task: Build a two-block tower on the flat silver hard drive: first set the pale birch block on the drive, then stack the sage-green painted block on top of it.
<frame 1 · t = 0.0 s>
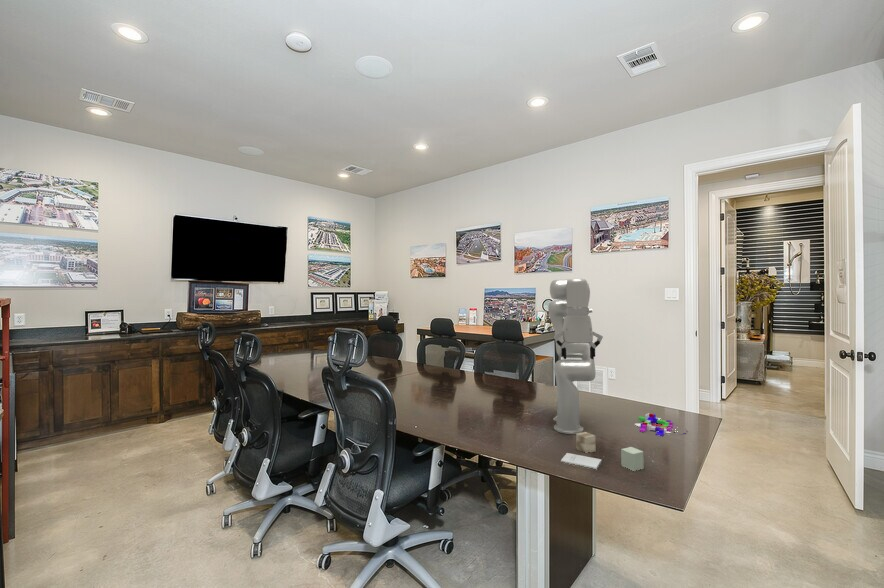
hand: (578, 358, 146), 37 cm above the table, tool pointing down, fingers open, 9 cm apart
sage block: (632, 467, 139), on the table
external hard drive: (581, 464, 144), on the table
building block set: (660, 429, 180), on the table
birch block: (585, 450, 155), on the table
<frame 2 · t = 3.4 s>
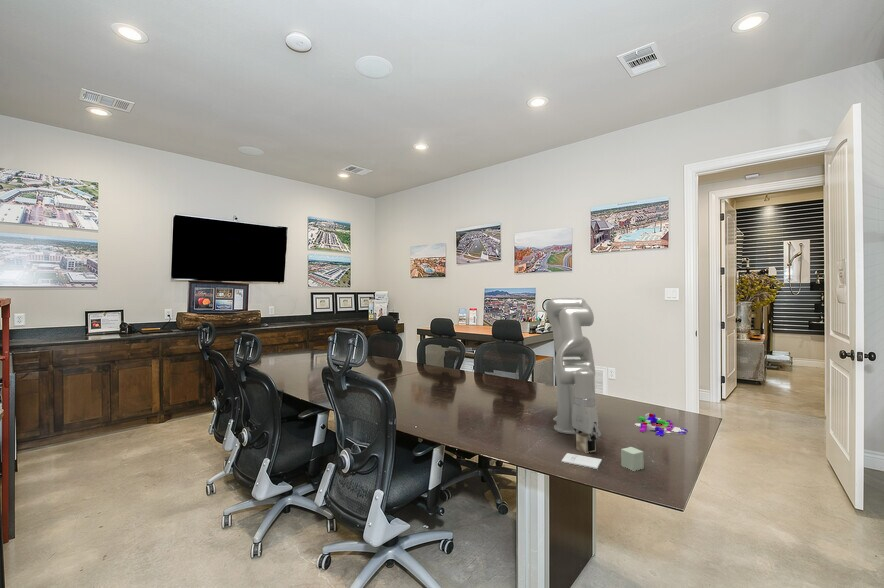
hand: (585, 447, 155), 1 cm above the table, tool pointing down, fingers closed on birch block, 5 cm apart
birch block: (586, 450, 155), on the table, touching gripper
everything else where it was.
when the fingers open (4 cm above the table, at t = 8.4 s): birch block drops 2 cm, resting on external hard drive.
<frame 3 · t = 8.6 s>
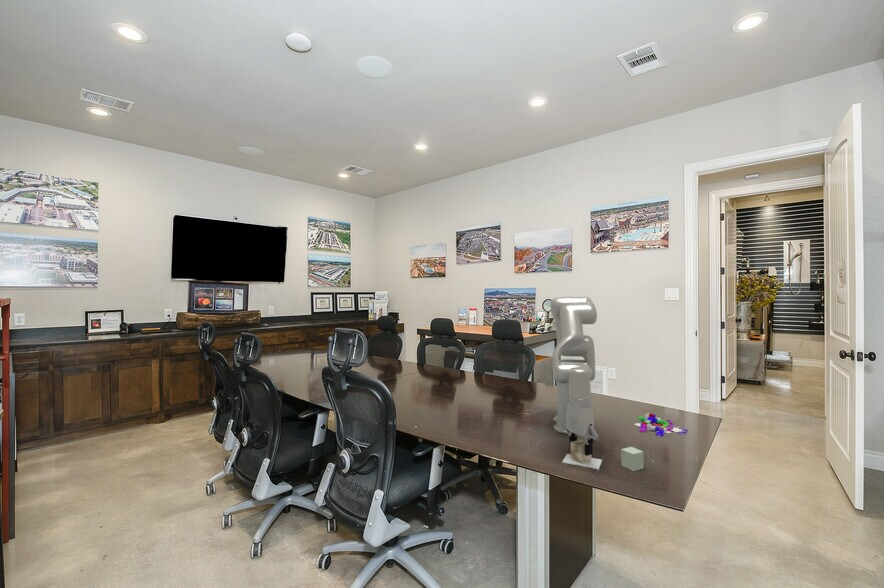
hand: (580, 450, 144), 4 cm above the table, tool pointing down, fingers open, 7 cm apart
external hard drive: (582, 465, 144), on the table, touching birch block
birch block: (581, 459, 144), point 1 cm above the table, touching external hard drive
everything else where it was.
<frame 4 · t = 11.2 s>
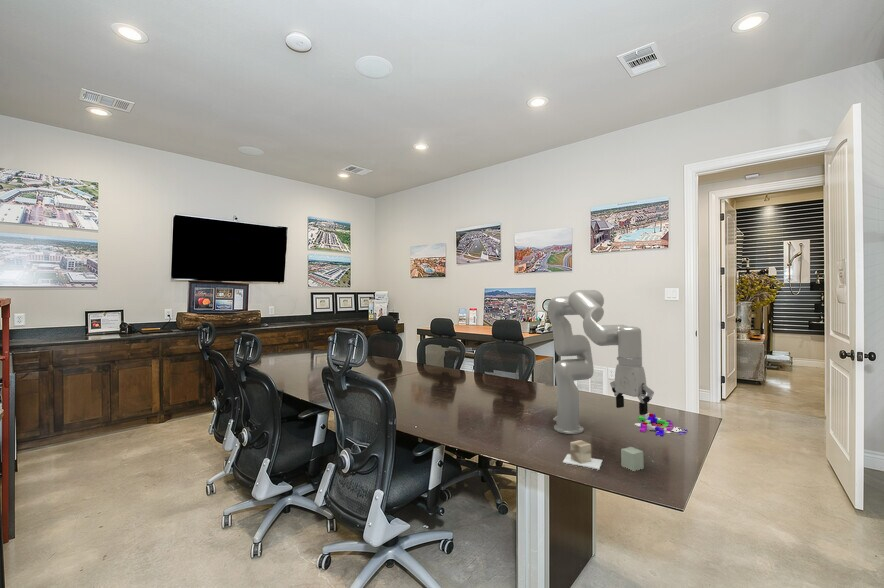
hand: (631, 410, 139), 20 cm above the table, tool pointing down, fingers open, 9 cm apart
nothing on the table moved.
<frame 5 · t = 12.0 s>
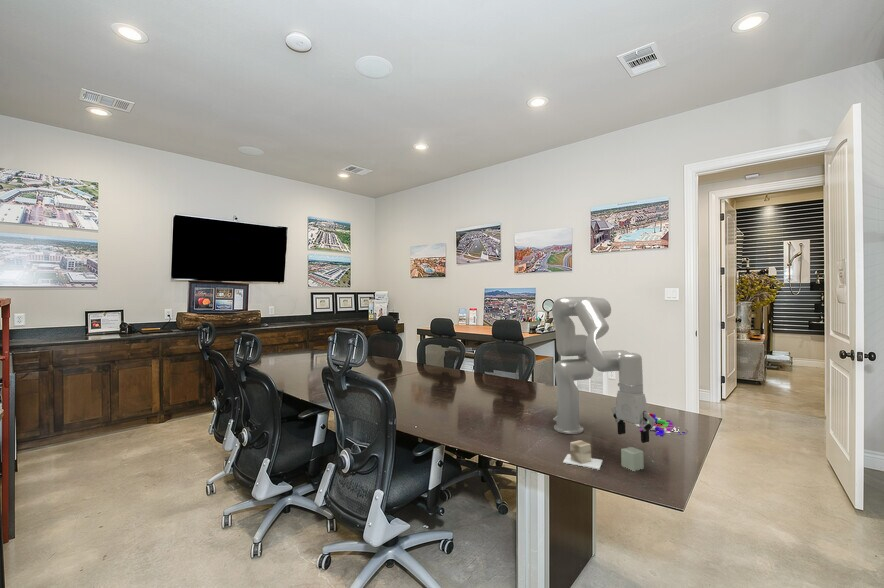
hand: (633, 437, 138), 11 cm above the table, tool pointing down, fingers open, 9 cm apart
nothing on the table moved.
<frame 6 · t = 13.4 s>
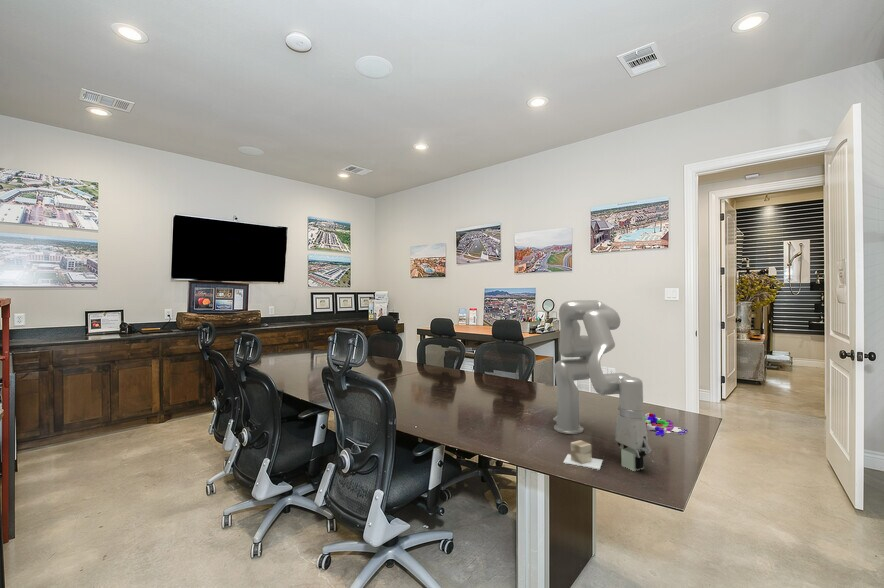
hand: (632, 464, 139), 1 cm above the table, tool pointing down, fingers closed on sage block, 5 cm apart
sage block: (632, 467, 139), on the table, touching gripper
external hard drive: (583, 465, 143), on the table
birch block: (581, 460, 144), point 1 cm above the table
everything else where it was.
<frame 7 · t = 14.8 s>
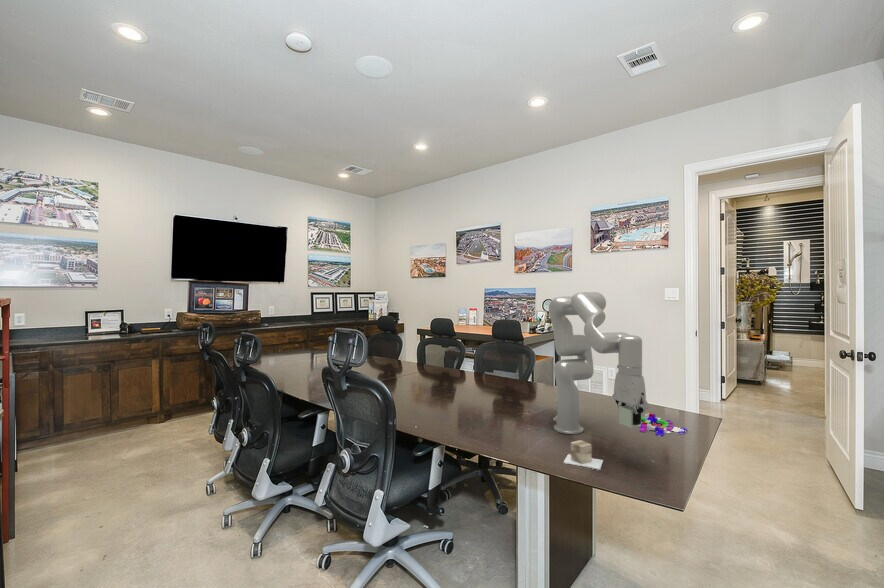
hand: (629, 421, 140), 16 cm above the table, tool pointing down, fingers closed on sage block, 5 cm apart
sage block: (629, 424, 140), point 15 cm above the table, touching gripper
everything else where it was.
when the fingers open (10 cm above the table, at t = 19.2 s): sage block drops 2 cm, resting on birch block.
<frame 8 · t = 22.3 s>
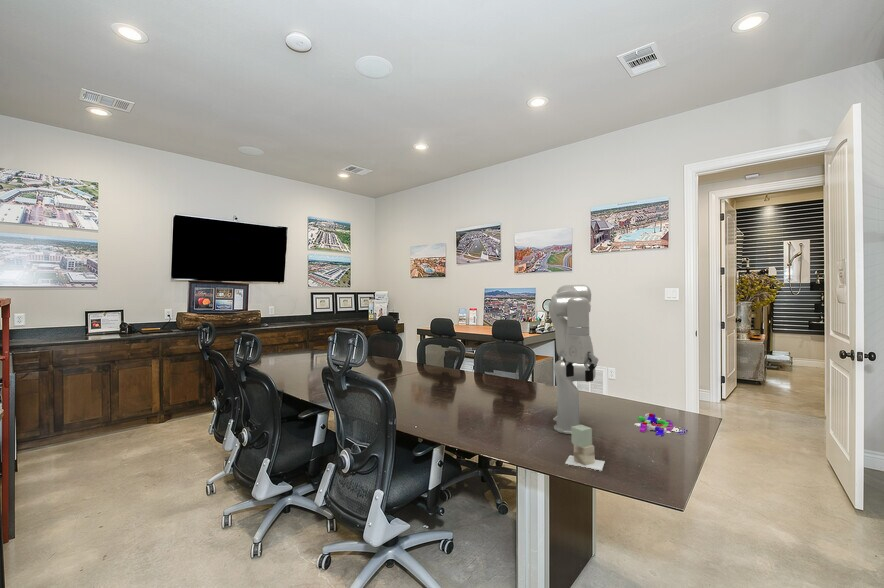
hand: (579, 378, 144), 30 cm above the table, tool pointing down, fingers open, 9 cm apart
sage block: (581, 444, 144), point 7 cm above the table, touching birch block
external hard drive: (585, 466, 143), on the table, touching birch block
birch block: (584, 461, 143), point 1 cm above the table, touching external hard drive, sage block
everything else where it was.
at the end: birch block inside the target area on the external hard drive (0.3 cm from its centre), point 1.8 cm above the external hard drive's base; sage block 1.0 cm off-centre on the birch block, point 6.0 cm above the birch block's base; sage block tilted 0° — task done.
